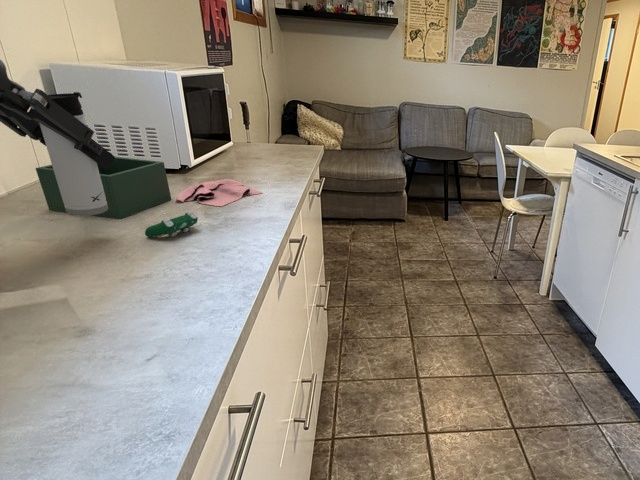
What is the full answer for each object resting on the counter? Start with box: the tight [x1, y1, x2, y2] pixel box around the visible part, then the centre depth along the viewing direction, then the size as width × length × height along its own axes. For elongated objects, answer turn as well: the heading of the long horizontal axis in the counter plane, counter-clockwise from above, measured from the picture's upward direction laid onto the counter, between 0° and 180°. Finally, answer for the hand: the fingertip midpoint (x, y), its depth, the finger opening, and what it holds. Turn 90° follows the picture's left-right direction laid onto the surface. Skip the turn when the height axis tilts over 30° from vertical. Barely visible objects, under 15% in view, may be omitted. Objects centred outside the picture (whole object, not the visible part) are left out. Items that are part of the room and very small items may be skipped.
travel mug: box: [39, 91, 108, 217], centre depth 81 cm, size 6×7×20 cm
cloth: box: [175, 178, 263, 208], centre depth 120 cm, size 20×22×2 cm
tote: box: [35, 156, 172, 220], centre depth 106 cm, size 17×16×9 cm
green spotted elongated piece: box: [144, 209, 198, 238], centre depth 94 cm, size 9×4×6 cm
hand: (93, 160), depth 85 cm, fingers closed on travel mug, 6 cm apart
